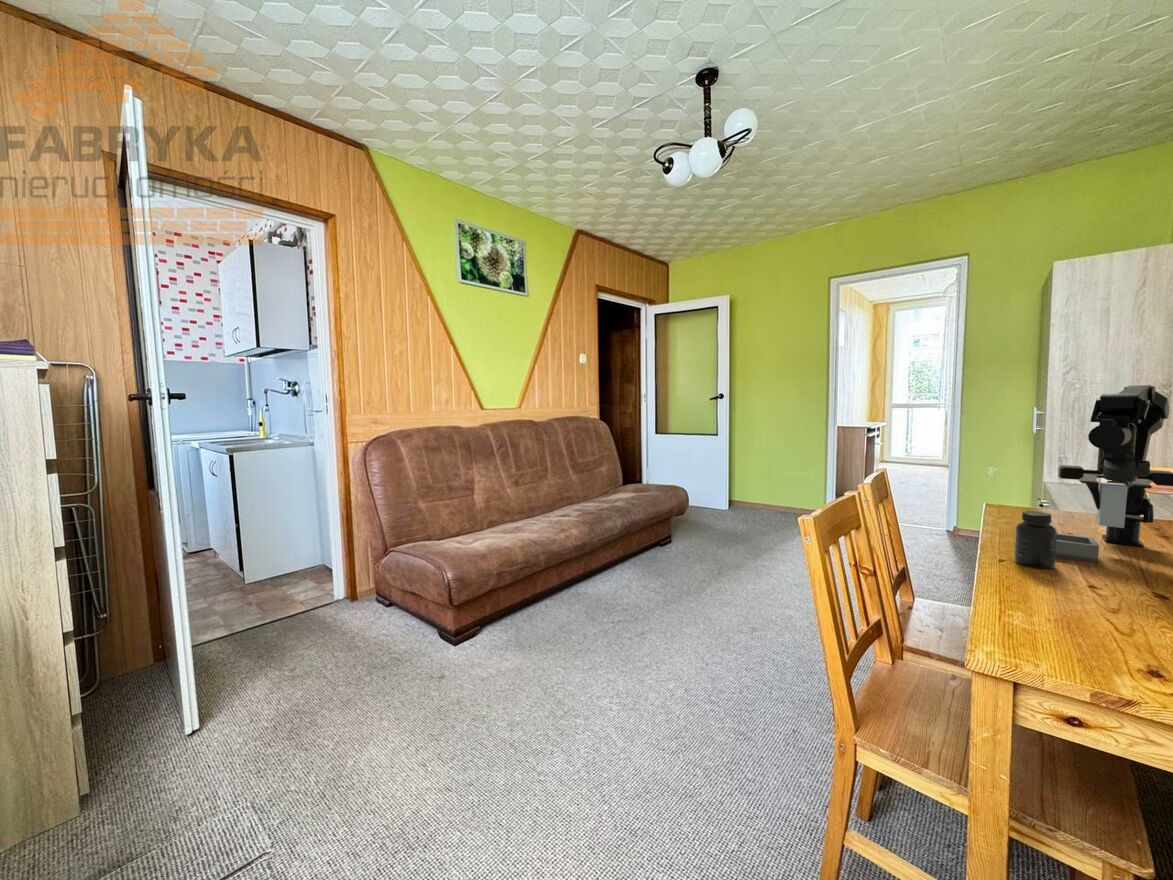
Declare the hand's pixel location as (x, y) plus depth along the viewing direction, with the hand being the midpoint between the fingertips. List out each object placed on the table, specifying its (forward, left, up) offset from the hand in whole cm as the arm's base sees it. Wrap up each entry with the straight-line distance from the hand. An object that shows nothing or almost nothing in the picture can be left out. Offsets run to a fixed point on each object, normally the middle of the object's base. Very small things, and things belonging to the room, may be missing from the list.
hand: (1111, 510), depth 114 cm
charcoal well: (+8, -7, -10) cm, 15 cm away
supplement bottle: (+21, -14, -11) cm, 27 cm away
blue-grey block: (0, 0, -4) cm, 4 cm away
